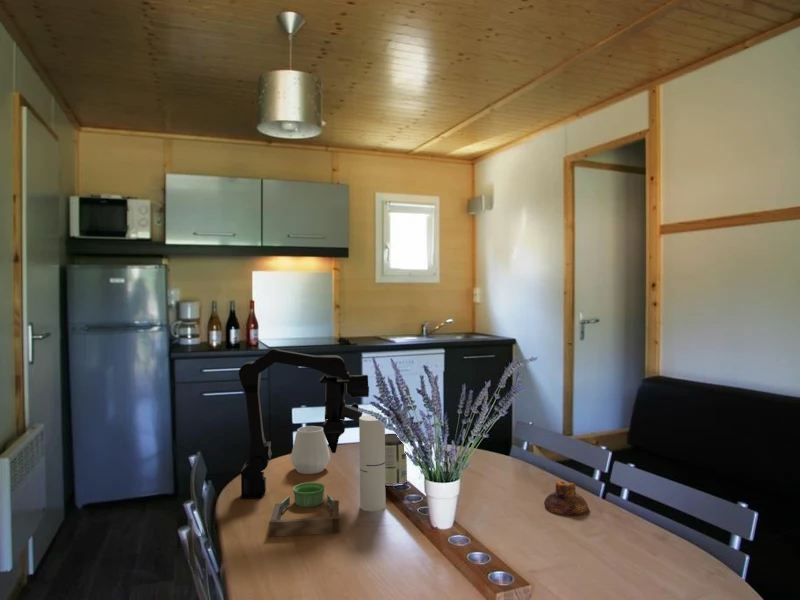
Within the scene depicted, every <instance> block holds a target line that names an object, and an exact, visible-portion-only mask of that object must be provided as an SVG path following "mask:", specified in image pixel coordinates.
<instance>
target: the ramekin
mask: <svg viewBox="0 0 800 600" xmlns="http://www.w3.org/2000/svg"><path fill="white" fill-rule="evenodd" d="M292 490H293V495H294V503H295V505H297V507H302V508H312V507H313V508H314V507H317V506H319V505H321V504H322V503H323V502H324V492H325V485H324V484H323V483H321V482H317V481H308V482H302V483H299V484H296V485H295V486H293V488H292Z"/></svg>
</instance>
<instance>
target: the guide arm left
mask: <svg viewBox="0 0 800 600" xmlns="http://www.w3.org/2000/svg"><path fill="white" fill-rule="evenodd" d="M280 503H281V516H282V515H284V511H285V510H286V509H288V507H290V505H291V496H290V495H287V497H285V498H284V500H282V501H281V502H280Z"/></svg>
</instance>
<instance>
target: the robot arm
mask: <svg viewBox="0 0 800 600" xmlns="http://www.w3.org/2000/svg"><path fill="white" fill-rule="evenodd" d="M275 363H277V364H284V365H289V366H296V367H301V368H307V369H308V368H309V369H313V370H317V371H318V372H321V373H323V374H324V375H323V376H322V377H321V378H320V379H319V382H318V383H320V384H325V390H324V391H325V394H324V395H325V396H324V397H325V398H324V399H325V400H324V401H325V402H324V421H323V425H322V426H323V427H322V428H323V432H324V434H325V437H326V441H327V445H328V448H329V449H330V453H331V454H336V452H337V448H338V444H339V438H340V436H342V435H343V434H344V433H345V431H346V423H345V419H349V420H351V421H354V422H355V423H358V424H359V418H360V417H361V416H363V414H364V413H362V412H360V411H358V408H359V404H358V403H356V402H353V403H352V404H351V405H350V404H346V400H345V390H346V395H348V396H349V397H350V398H369V396H370V386H369V375H368V374H361V375H360V374H358V375H357V374H353V375H352V374H350V371H348V370H347V368H346V365H345V364H346V363H345V360H344V359H343V357H341V356H340V355H337V354H335V355H333V354H329V355H313V354H309V353H307V354H306V353H301V352H300V353H299V352H296V351H290V350H282V349H279V348H276V347H273V348H271V349H270V350H269V351H268V352H266V353H265V354H263V355H262V356H260V357H259V358H257V359H256V360H254V361H252V360H249V361H246V362H245V363H243V364H242V365H241V367H240V368H239V370H238V377H239V380H240V384H241V387H242V389H243V392H244V394H245V402H246V413H247V420H248V429H249V430H248V431H249V447H248V455H247V456H248V460H247V461H245V463H244V465H243V467H242V468H241V471H240V475H241V476H240V479H241V480H240V483H241V484H240V489H241V492H240V493H241V494H240V497H239V498H240V499H241V500H242V499H243V500H244V499H259V498H260V499H261V498H263V497H264V496H265V494H266V492H267V477H266V476H265V472H264V470H266V469H267V468H268V464H269V463H270V461H271V458H272V455H273V452H272V450H271V445H272V441H266V438H265V434H264V426H263V417H262V416H263V415H262V407H261V397H260V387H261V382H262V381H261V379H262V372H263V371H265V370H266V369H268V368H270V366H272V365H273V364H275ZM327 375H328V376H327ZM338 377H339V378H340V379H338ZM345 384H346V389H345ZM359 409H360V408H359Z"/></svg>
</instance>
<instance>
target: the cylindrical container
mask: <svg viewBox="0 0 800 600" xmlns="http://www.w3.org/2000/svg"><path fill="white" fill-rule="evenodd" d="M370 415H371V414H368V415H367V414H366V415H362V416H361V417H360V418H359V423H358V424H359V427H358V428H359V430H358V433H359V434H358V435H359V439H358V441H359V508H360V509H361V510H362V511H365V512H380V511H383V510H385V508H386V501H387V500H386V496H387V495H386V487H385V434H386V427H385V426H386V425H385V426H384V425H383V424H382V423H381V422H380V421H379V420H378V419H376V418H375V417H372V416H370ZM382 416H383V415H382ZM383 417H385V416H383Z"/></svg>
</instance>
